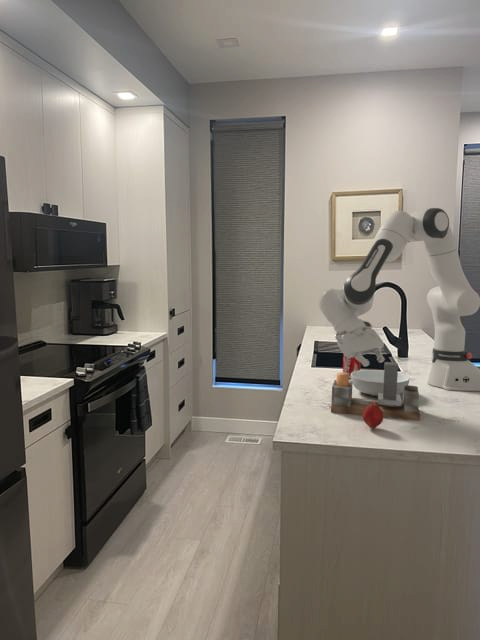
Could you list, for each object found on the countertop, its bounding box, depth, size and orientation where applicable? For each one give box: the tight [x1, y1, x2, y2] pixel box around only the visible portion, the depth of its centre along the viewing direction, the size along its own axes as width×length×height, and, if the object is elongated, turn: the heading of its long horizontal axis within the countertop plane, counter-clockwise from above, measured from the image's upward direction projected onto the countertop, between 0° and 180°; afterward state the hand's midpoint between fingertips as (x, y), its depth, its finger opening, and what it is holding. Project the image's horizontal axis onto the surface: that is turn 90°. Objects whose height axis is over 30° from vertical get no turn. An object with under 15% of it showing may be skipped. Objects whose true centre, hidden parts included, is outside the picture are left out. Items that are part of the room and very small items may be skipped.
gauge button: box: [336, 371, 350, 386], centre depth 165 cm, size 4×4×8 cm
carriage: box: [377, 361, 402, 406], centre depth 161 cm, size 7×8×12 cm
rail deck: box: [330, 379, 421, 421], centre depth 163 cm, size 27×12×9 cm, turn 75°
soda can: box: [342, 354, 362, 378], centre depth 207 cm, size 7×7×12 cm
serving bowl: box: [350, 369, 411, 398], centre depth 183 cm, size 21×21×7 cm
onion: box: [362, 402, 384, 429], centre depth 146 cm, size 6×6×8 cm
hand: (375, 363), depth 164 cm, fingers open, 8 cm apart
